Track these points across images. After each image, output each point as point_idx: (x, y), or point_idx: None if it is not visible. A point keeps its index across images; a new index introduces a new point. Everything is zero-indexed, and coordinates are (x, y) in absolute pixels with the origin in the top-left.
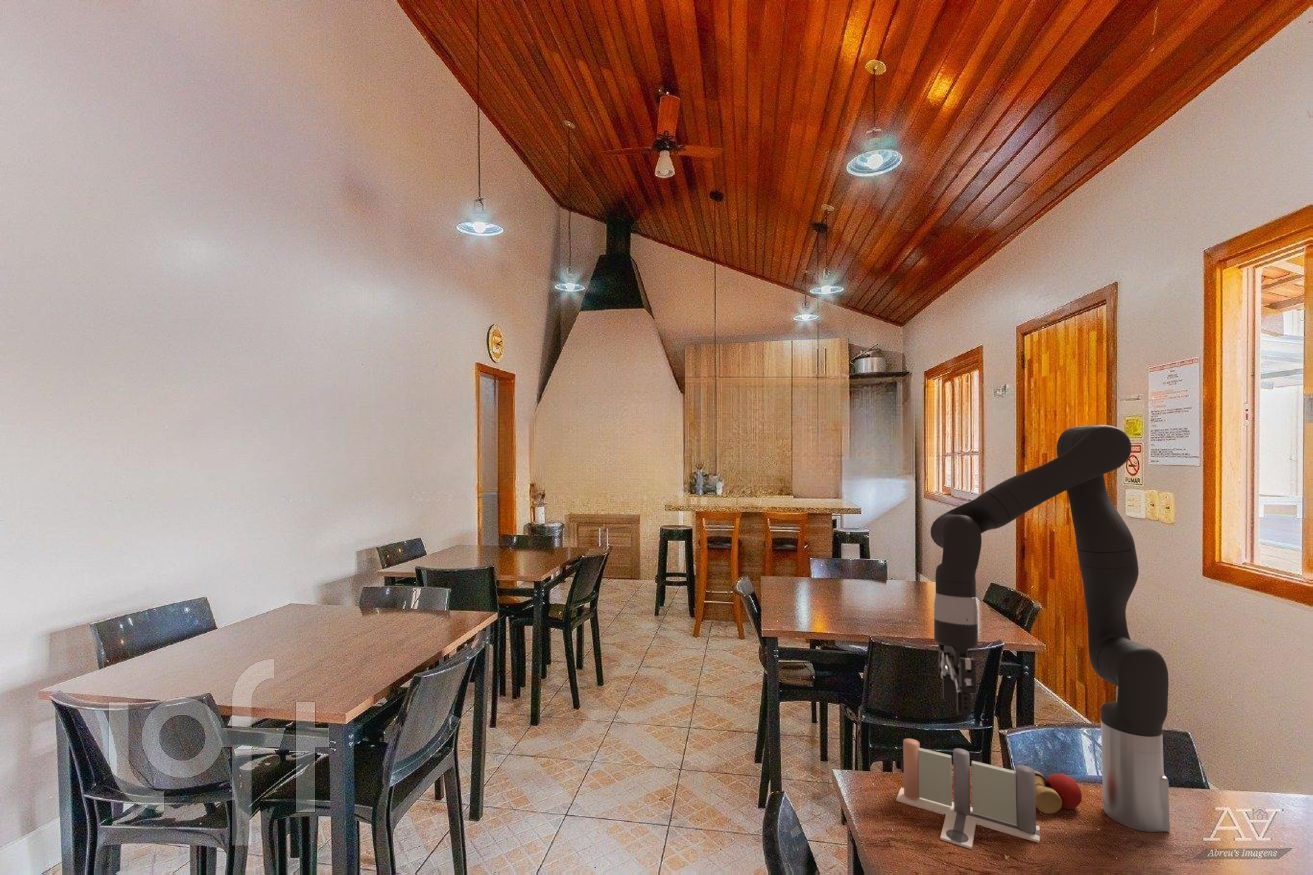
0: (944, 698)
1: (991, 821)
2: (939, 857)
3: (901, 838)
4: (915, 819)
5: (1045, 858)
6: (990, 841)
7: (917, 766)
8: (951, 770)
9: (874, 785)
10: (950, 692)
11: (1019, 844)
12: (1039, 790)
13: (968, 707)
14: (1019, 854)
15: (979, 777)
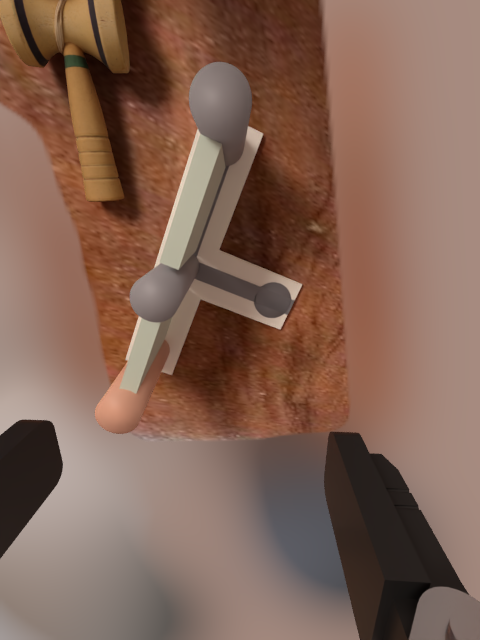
0: (60, 476)
1: (211, 216)
2: (328, 341)
3: (285, 385)
4: (226, 354)
5: (314, 147)
6: (272, 240)
7: (150, 373)
8: None
9: None
10: (18, 480)
11: (274, 184)
12: (108, 39)
13: (404, 492)
14: (306, 198)
15: (190, 245)
